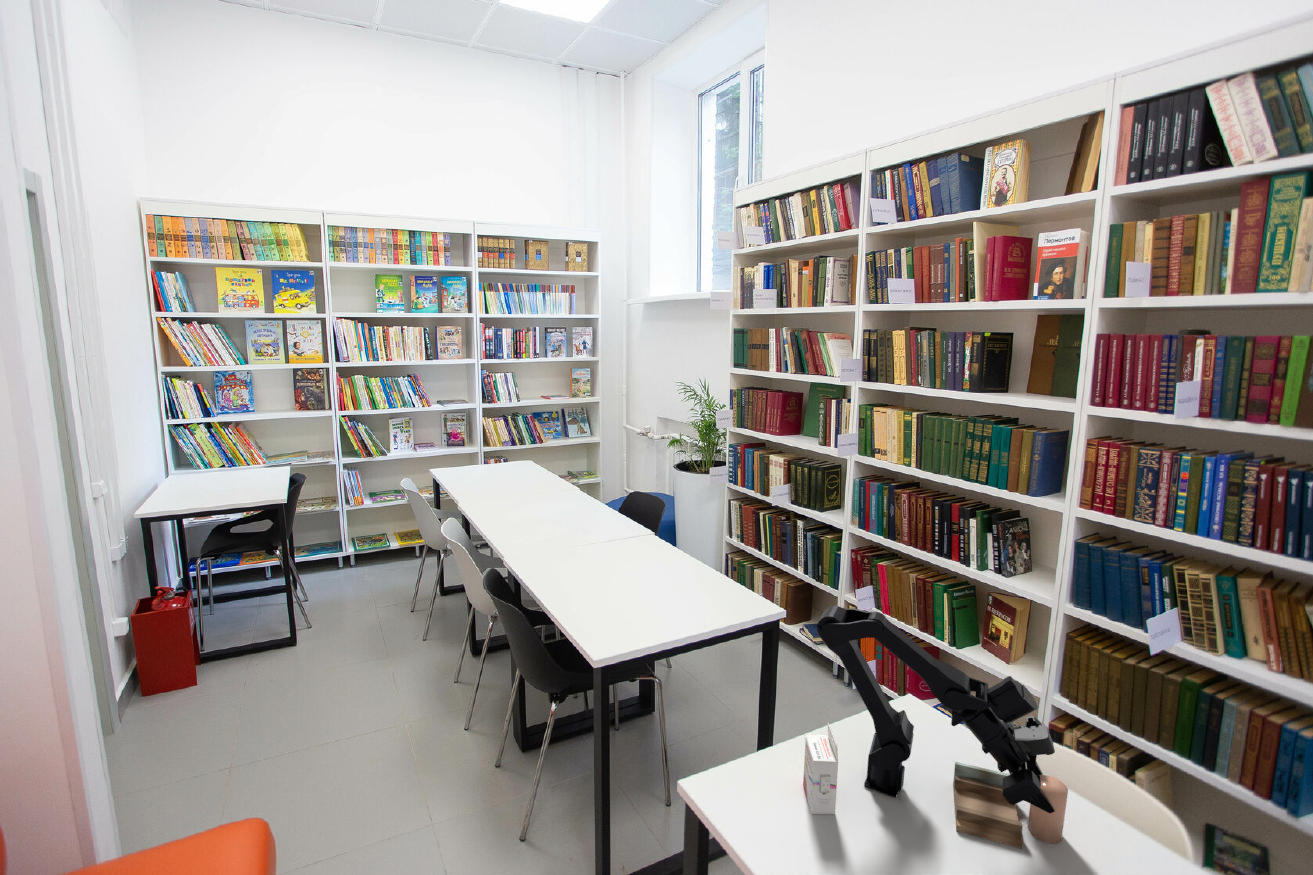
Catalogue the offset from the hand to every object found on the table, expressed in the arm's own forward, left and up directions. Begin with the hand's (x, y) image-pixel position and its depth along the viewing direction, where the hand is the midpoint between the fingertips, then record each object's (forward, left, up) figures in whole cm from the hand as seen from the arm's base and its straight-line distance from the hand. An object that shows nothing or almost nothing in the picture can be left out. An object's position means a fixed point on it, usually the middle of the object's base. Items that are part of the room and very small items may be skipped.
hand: (1050, 801), depth 122 cm
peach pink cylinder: (0, 0, -7) cm, 7 cm away
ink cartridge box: (-39, -15, -7) cm, 43 cm away
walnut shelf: (-10, -1, -7) cm, 12 cm away
